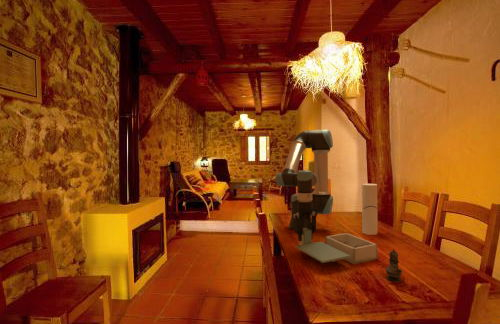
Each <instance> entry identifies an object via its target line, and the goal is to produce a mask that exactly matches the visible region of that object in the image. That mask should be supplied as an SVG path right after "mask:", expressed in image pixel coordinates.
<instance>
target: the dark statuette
mask: <svg viewBox="0 0 500 324" xmlns="http://www.w3.org/2000/svg"><path fill="white" fill-rule="evenodd" d="M388 261H389V266H387V267H385V271H386V274H387V276H386V279H387V281H390V282H393V283H400V282H402V278H400V277H401V276H402V273H403V270H402V269H401V268H399V262H400V261H399V253H398V252H397V251H396V250H395V249H394V248H393V249H392V250H390V251H389V259H388Z"/></svg>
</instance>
